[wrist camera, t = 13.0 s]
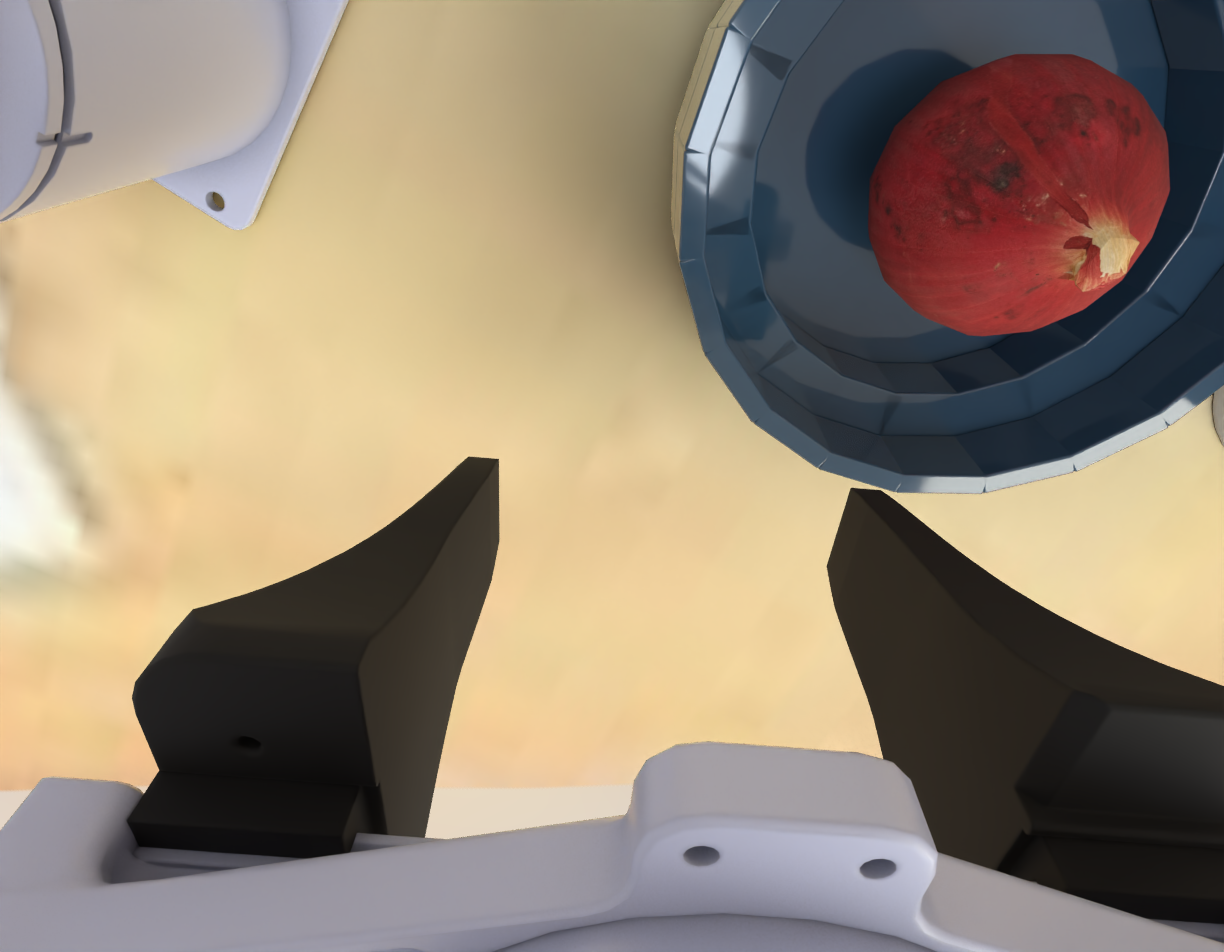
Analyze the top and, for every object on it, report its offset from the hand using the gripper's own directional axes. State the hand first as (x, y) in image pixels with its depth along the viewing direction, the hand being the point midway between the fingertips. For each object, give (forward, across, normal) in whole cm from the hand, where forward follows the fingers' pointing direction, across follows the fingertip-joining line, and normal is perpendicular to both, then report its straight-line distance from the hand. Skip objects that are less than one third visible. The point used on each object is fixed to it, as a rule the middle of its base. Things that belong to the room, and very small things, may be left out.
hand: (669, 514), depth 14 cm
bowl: (+9, -7, -6) cm, 13 cm away
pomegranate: (+9, -7, -6) cm, 13 cm away
